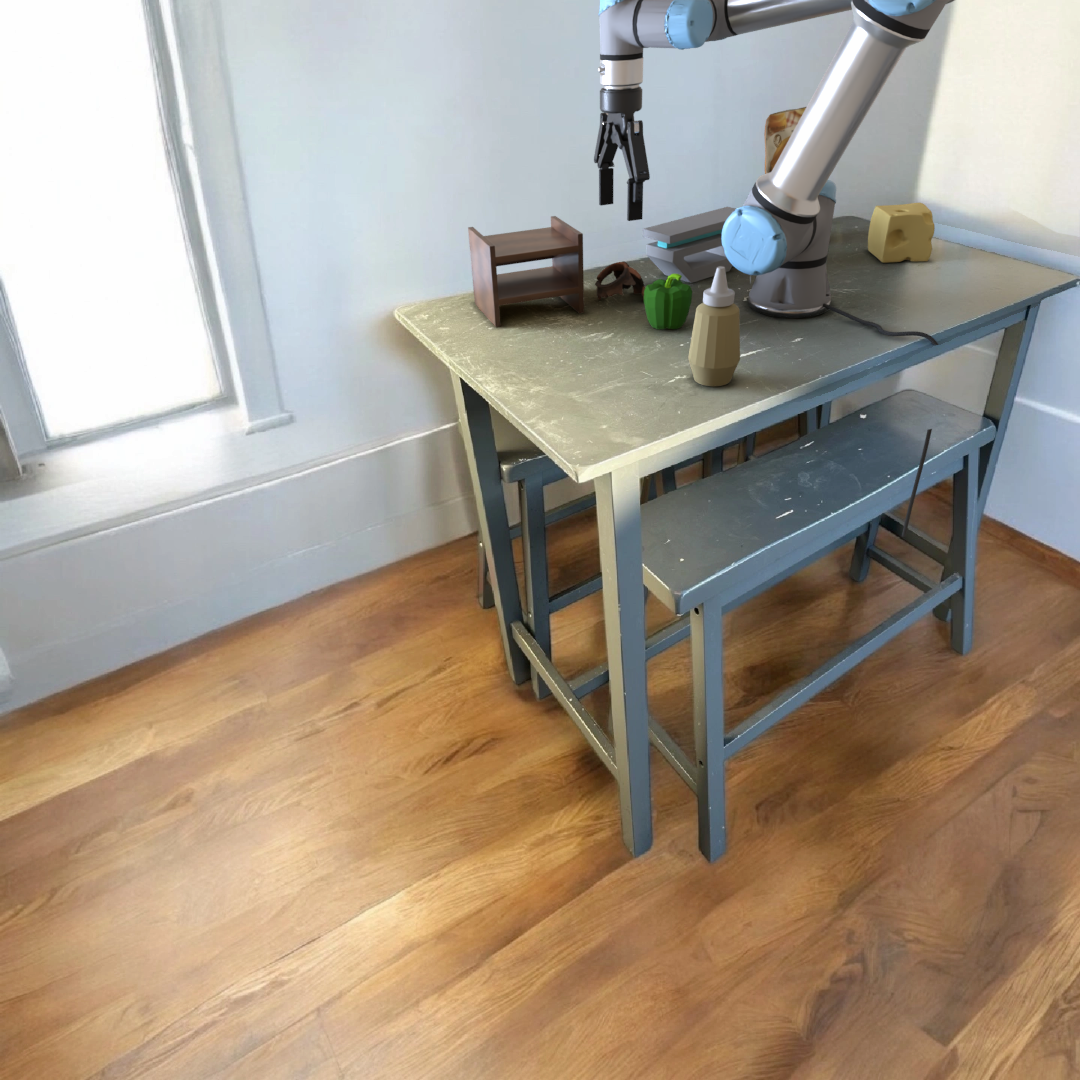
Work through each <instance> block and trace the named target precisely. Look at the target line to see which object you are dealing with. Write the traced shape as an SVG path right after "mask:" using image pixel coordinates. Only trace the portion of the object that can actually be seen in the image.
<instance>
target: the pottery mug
mask: <svg viewBox="0 0 1080 1080" xmlns="http://www.w3.org/2000/svg"><path fill="white" fill-rule="evenodd" d="M612 273H613V276H614V277H615V280H613V281H611V282H609V283H605V284H603V281H604V280H605V279H606V278H608V277H609V275H611V274H612ZM594 285H595V286H596V297H597V299H598V301H601V300H602V299H603V298H604V299H607V298H608V297H609V298H610V297H613V296H616V295H621V296H624V291H623V290H629V289H630V288H631V287H632V292H633V294H634V295H637V294H638V295H639V294H640V295H641V296H642V300H643V301H644V290H645V288H646V286H645V282H644V280H643V278H642V275H641V274H640V272H639V271H637V269H635V268H633V267H632V266H630V264H628V262H626V261H617V262H614V263H611V264H609V265H608V266H605V268H604V269H602V270H601V271H600V272H599V273H598V274H597V276H596V281H595V283H594Z"/></svg>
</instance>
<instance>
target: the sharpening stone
mask: <svg viewBox="0 0 1080 1080" xmlns="http://www.w3.org/2000/svg"><path fill="white" fill-rule="evenodd" d="M736 209H737V208H735V207H731V206H724V207H721V208H717V209H713V210H709V211H706V212H702V213H698V214H694V215H690V216H687V217H686V216H685V217H682V218H678V219H675V220H670V221H668V222H663V223H660V224H656V225H652V226H649V227H644V228H642V237H643V238H646V239H650V240H654V241H653V242H649V243H647V244H646V248H645V255H646V256H647V257H648V259H649V260H650V261H651V262H652V263H653V264H654V265H655V266H656V267H657V268H658V269H659V270H660V272H661V273H663V275H665V276H667V277H668V276H670V275H671V274H673V273H674V274H679V275H681V276H682V277H681V279H680V281H682V282H686V283H690V284H692V283H696V282H699V281H702V280H705V279H708V278H711V277H714V276H715V273H716V269H717V267H719V266H722V267H725V272H726V273H727V272H728V273H729V272H730V270H731V269H732V268H733V267H734V266H733V265H732V264H731V263H730V262H729V260H728V259H727V257H726V255H725V251H724V247H723V246H722V229H723V226H724V223H725V221H726V220H727V218H728V217H729V216H730V215H731V214H732V212H734V211H735V210H736Z"/></svg>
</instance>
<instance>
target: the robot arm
mask: <svg viewBox="0 0 1080 1080" xmlns="http://www.w3.org/2000/svg"><path fill="white" fill-rule="evenodd" d="M952 2H955V0H599V12H598V19H599V24H598V25H599V66H598V67H597V72H598V73H599V84H600V85H601V86H603V87H601V88H600V90H599V110H600V114H599V126H598V134H597V138H596V145H595V150H594V154H593V162H594V164H597V165H596V166H597V169H598V205H599V206H607V205H614V168H613V167H615V163H614V159H615V156H616V153H617V151H618V149H619V150H621V152H622V157H623V160H624V163H625V167H626V171H627V174H628V179H627V181H626V184H627V198H626V199H627V202H626V203H627V204H626V205H627V207H626V210H627V211H626V221H627V222H632V221H633V222H634V221H640V220H643V213H644V212H643V209H644V207H643V206H644V205H643V204H644V183H645V182H646V181H650V178H651V176H650V175H651V174H650V168H649V162H648V157H647V150H646V143H645V138H644V122H643V120H641V119H640V120H635V113H636V112H639V111H641V110H642V108H643V88H642V87H641V86H640V85H641V84H642V83H643V81H644V49H648V48H650V49H651V48H653V49H656V48H657V49H677V50H682V51H684V50H687V49H688V50H689V49H698V48H700V47H703V46H704V45H705V43H709V42H716V41H722V40H725V39H727V38H731V37H736V36H738V35H744V34H748V33H752V32H757V31H761V30H762V31H763V30H766V29H772V28H776V27H780V26H784V25H789V24H794V23H798V22H802V21H806V20H811V19H816V18H821V17H826V16H830V15H834V14H839V13H843V12H844V13H845V12H849V11H852V16H853V20H852V22H851V23H850V26H849V28H848V30H847V31H846V33H845V35H844V37H843V39H842V40H841V42H840V45H839V46H838V48H837V49H836V51H835V53H834V56H833V57H832V59H831V61H830V63H829V65H828V67H827V68H826V70H825V72H824V73H823V75H822V78H821V80H820V81H819V83H818V85H817V87H816V89H815V91H814V92H813V94H812V96H811V98H810V100H809V102H808V103H807V105H806V106H805V107H806V109H805V111H804V113H803V114H802V116H801V118H800V120H799V122H798V124H797V126H796V127H795V129H794V131H793V133H792V135H791V137H790V138H789V140H788V142H787V144H786V146H785V148H784V150H783V151H782V153H781V155H780V157H779V159H778V161H777V162H776V164H775V166H774V168H773V170H772V172H770V173H767V174H765V173H764V174H761V175H759V176H758V178H757V179H756V180H755V182H754V184H753V186H752V187H751V190H750V191H749V194H748V196H747V197H746V199H745V200H744V203H743V204H742V205H741V206H740V207H737V208H736V210H735V211H734V212H732V214H731V215H730V216H729V217H728V218H727V220H726V221H725V223H724V226H723V229H722V246H723V247H724V251H725V255H726V257H727V259H728V260H729V262H730V263H731V264H732V265H733V266H732V267H734V268H735V269H736V270H738V271H739V272H741V273H743V274H746V275H748V276H749V284H751V283H752V282H751V281H752V276H755V279H754V281H753V284H752V287H751V288H750V290H749V294H748V300H747V305H748V307H749V308H750V309H751V310H753V311H755V312H757V313H759V314H762V315H765V316H770V317H775V318H783V319H801V318H802V319H803V318H811V317H816V316H819V315H823V314H824V313H826V312H828V311H832V312H834V313H836V314H838V315H840V316H844V317H845V318H847V319H850V320H852V321H854V322H855V323H859V324H861V325H864V326H868V327H872V328H874V329H875V328H876V329H877V330H878V332H879V333H880V334H882V335H885V336H888V337H908V336H909V337H911V336H912V337H913V336H915V337H916V336H917V337H921V338H925V339H926V340H928V342H930V343H931V344H932V345H934V346H938V345H939V343H938V342H937V340H936V339H935V338H934V337H933V336H931V335H930V334H928V333H926V332H923V331H916V330H915V331H914V330H913V331H912V330H910V331H889V330H885V329H884V328H883V327H882V326H881V325H880V324H878V323H876V322H873V321H870V320H869V321H868V320H864V319H862V318H859V317H857V316H855V315H853V314H851V313H849V312H846V311H844V310H842V309H839V308H837V307H835V306H833V305H831V303H832V302H831V301H832V294H831V293H832V291H831V288H830V282H829V276H828V271H827V261H828V253H829V247H830V242H831V241H830V240H831V234H832V227H833V221H834V215H835V214H834V213H835V206H836V204H837V199H836V198H837V197H836V196H837V186H836V183H835V182H834V181H832V180H830V177H831V175H832V174H833V172H834V170H835V169H836V167H837V165H838V164H839V162H840V160H841V158H842V156H843V155H844V154H845V152H846V150H847V149H848V146H849V145H850V143H851V142H852V140H853V139H854V137H855V135H856V134H857V132H858V130H859V128H860V127H861V126H862V123H863V122H864V120H865V119H866V117H867V115H868V113H869V112H870V110H871V109H872V107H873V105H874V103H875V101H876V100H877V98H878V97H879V95H880V93H881V91H882V90H883V88H884V87H885V85H886V83H887V82H888V79H889V78H890V76H891V75H892V73H893V71H894V70H895V68H896V66H897V65H898V63H899V61H900V60H901V58H902V57H903V55H904V53H905V52H906V50H907V49H908V48H909V47H910V46H913V45H916V44H919V43H921V42H924V41H925V39H926V37H927V36H928V34H929V33H930V30H931V29H932V27H933V26H934V24H935V23H936V21H937V19H938V18H939V17H940V15H941V13H942V11H943V10H944V9H945V6H946V5H948V4H951V3H952ZM932 432H933V428H930V429H927V430H926V435H925V440H924V444H923V448H922V453H921V455H920V456H921V457H920V461H919V464H918V467H917V472H916V476H915V478H914V479H915V480H914V483H913V487H912V491H911V494H910V499H909V503H908V506H907V510H906V515H905V519H904V523H903V529H902V533H901V537H902V538H906V537H907V533H908V527H909V523H910V519H911V515H912V509H913V506H914V504H915V499H916V495H917V491H918V487H919V484H920V480H921V476H922V473H923V468H924V464H925V460H926V458H927V457H926V456H927V453H928V449H929V445H930V440H931V435H932Z"/></svg>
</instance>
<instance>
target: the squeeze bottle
mask: <svg viewBox="0 0 1080 1080" xmlns="http://www.w3.org/2000/svg"><path fill="white" fill-rule="evenodd" d="M728 286H729V285H728V281H727V272H725V267H722V266H719V267H717V269H716V273H715V276H713V279H712V283H711V286H710V287H708V288H706V289H705V290H703V294H702V303H700V304H698V305H697V307H696V308H695V313H694V314H695V315H694V321H693V325H692V326H693V327H692V332H691V339H690V345H689V349H688V350H689V351H688V357H687V359H688V362H689V365H690V369H691V373H692V376H693V379H694V382H696V383H698V384H699V385H701V386H706V387H722V386H725V385H727V384H729V383H731V381H732V378H733V376H734V374H735V372H736V370H737V367H738V365H739V362H740V360H741V327H740V326H741V325H740V323H741V322H740V319H741V317H740V308H739V306H738V305H737V304H736V303H735V296H736V295H735V294H736V292H735V291H734V290H733V289H731V288H729V287H728Z"/></svg>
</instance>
